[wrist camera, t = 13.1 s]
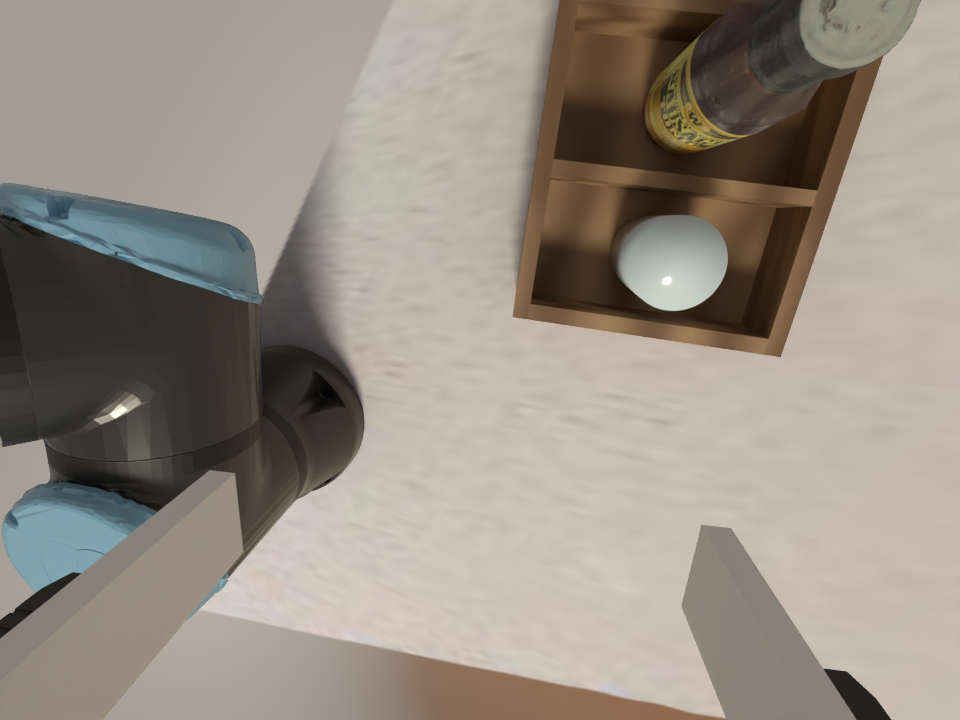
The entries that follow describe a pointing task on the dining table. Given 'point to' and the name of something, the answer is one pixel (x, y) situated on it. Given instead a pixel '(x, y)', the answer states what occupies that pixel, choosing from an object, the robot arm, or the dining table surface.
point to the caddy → (673, 183)
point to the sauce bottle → (765, 66)
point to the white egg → (669, 260)
